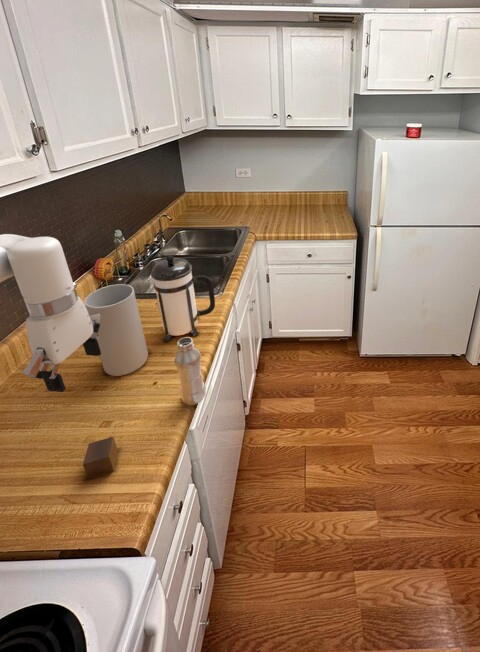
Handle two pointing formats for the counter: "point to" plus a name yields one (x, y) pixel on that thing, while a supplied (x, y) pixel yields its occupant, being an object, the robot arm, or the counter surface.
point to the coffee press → (178, 296)
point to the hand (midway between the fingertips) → (76, 371)
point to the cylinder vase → (118, 329)
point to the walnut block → (100, 457)
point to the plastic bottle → (190, 372)
